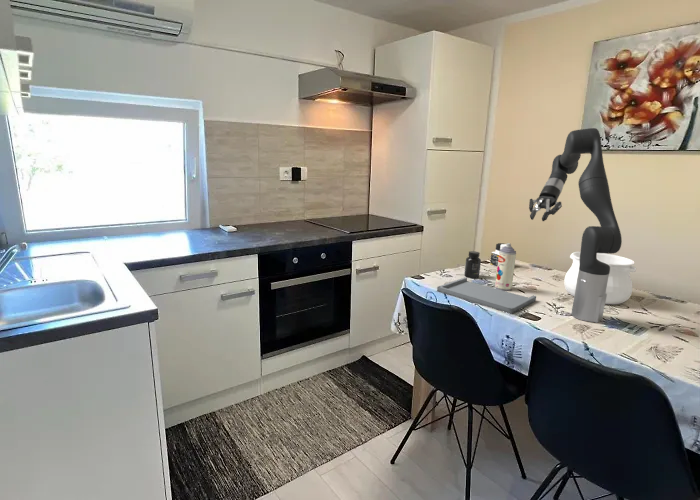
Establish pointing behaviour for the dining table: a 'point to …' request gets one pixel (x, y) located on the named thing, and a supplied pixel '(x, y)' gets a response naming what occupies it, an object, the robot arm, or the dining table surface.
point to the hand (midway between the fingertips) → (537, 219)
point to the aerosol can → (505, 268)
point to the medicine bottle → (496, 254)
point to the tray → (486, 295)
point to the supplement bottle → (472, 265)
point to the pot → (617, 280)
